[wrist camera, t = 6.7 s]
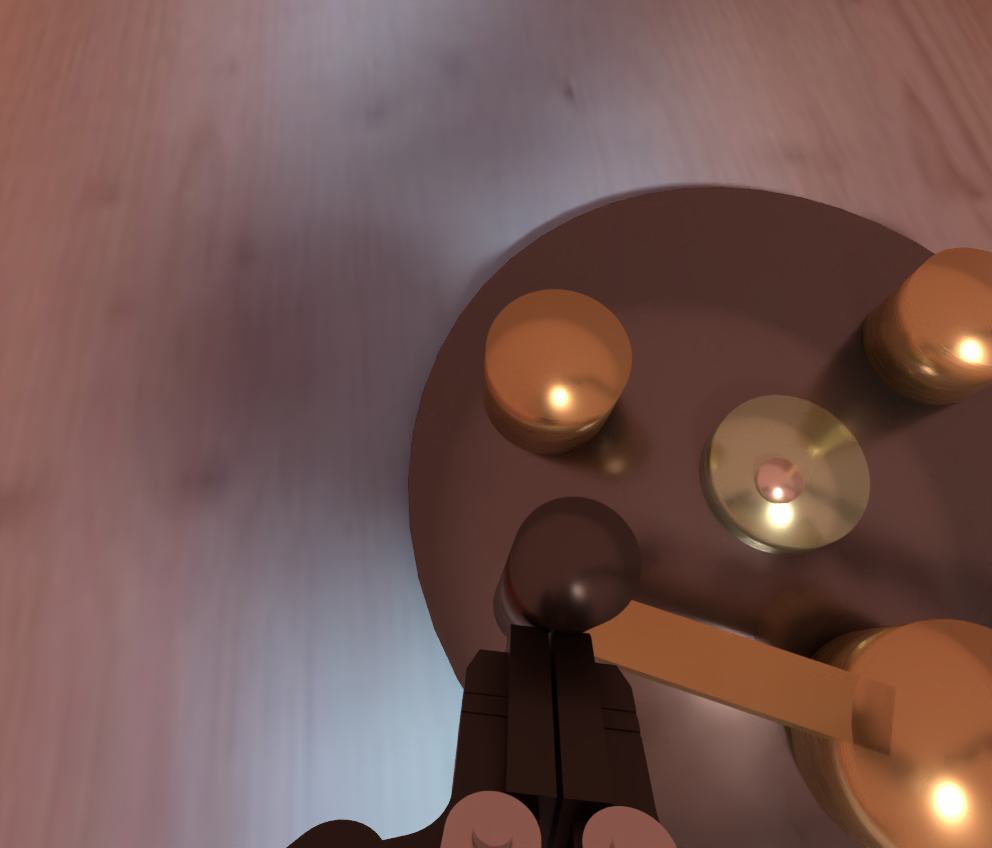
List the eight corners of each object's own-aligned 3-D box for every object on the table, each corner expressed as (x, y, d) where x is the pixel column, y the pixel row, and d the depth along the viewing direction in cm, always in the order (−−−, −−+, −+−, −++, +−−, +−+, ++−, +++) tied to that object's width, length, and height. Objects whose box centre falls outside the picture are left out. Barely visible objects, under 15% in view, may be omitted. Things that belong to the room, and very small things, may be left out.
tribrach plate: (947, 181, 29) (1020, 105, 25) (1259, 820, 20) (1442, 851, 16) (380, 232, 26) (367, 156, 22) (459, 985, 18) (459, 1063, 14)
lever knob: (1003, 666, 20) (1410, 650, 11) (996, 895, 18) (1493, 1086, 9) (520, 509, 21) (562, 386, 12) (457, 708, 19) (456, 724, 10)
